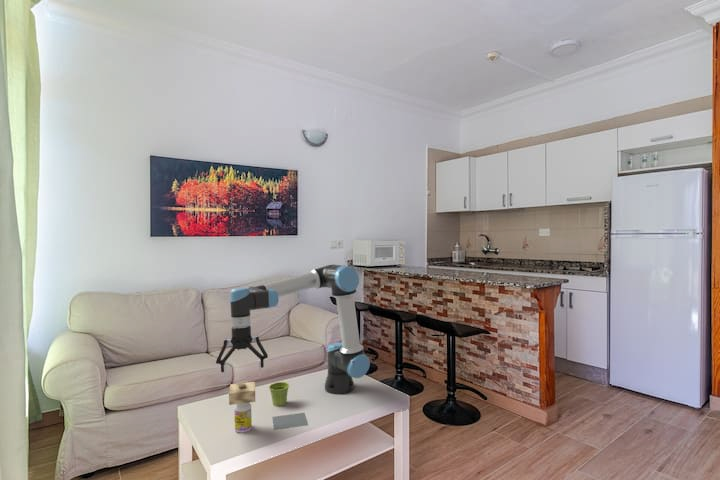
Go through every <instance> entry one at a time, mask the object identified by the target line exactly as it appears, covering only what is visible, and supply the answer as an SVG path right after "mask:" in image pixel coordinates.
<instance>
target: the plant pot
mask: <svg viewBox="0 0 720 480" xmlns="http://www.w3.org/2000/svg"><path fill="white" fill-rule="evenodd" d="M289 387H290V383H288V382H286V381H280V382H278V381H277V382H273V383H272V384H270V385H269V386H268V389H269V392H270V394H271V395H270V396H271V400H272V405H273V406H274V407H282V406H285V405H287V400H288V391H289Z"/></svg>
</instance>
